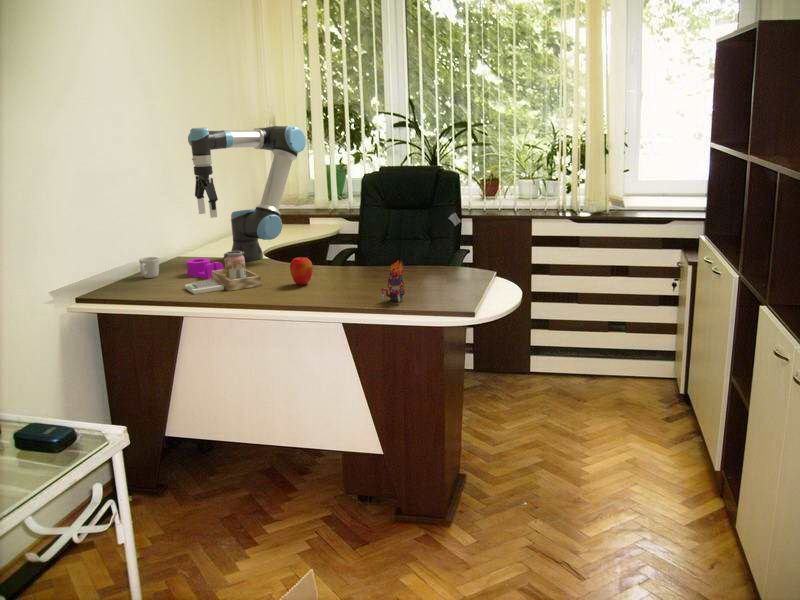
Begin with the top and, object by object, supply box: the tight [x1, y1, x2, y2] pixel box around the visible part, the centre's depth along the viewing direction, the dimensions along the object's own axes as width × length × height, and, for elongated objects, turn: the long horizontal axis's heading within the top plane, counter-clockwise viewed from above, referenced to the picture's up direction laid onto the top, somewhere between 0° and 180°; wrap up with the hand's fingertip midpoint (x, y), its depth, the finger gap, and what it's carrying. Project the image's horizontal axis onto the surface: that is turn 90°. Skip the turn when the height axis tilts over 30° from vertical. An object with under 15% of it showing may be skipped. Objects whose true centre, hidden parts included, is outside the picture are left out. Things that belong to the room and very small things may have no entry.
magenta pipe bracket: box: [186, 257, 224, 280], centre depth 339 cm, size 16×10×6 cm, turn 53°
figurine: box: [378, 259, 406, 302], centre depth 287 cm, size 8×9×15 cm
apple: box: [289, 255, 314, 286], centre depth 317 cm, size 9×9×12 cm
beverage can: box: [223, 250, 247, 280], centre depth 322 cm, size 9×8×12 cm
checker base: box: [184, 281, 225, 295], centre depth 315 cm, size 12×12×2 cm
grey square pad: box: [190, 279, 217, 289], centre depth 315 cm, size 8×8×1 cm
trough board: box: [210, 268, 263, 292], centre depth 323 cm, size 14×22×4 cm, turn 31°
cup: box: [139, 256, 160, 279], centre depth 337 cm, size 11×8×8 cm
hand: (208, 215), depth 336 cm, fingers open, 13 cm apart
